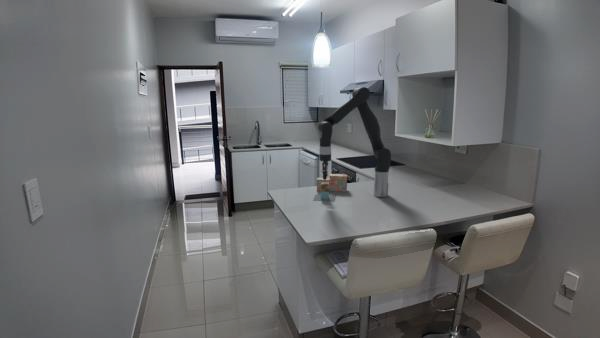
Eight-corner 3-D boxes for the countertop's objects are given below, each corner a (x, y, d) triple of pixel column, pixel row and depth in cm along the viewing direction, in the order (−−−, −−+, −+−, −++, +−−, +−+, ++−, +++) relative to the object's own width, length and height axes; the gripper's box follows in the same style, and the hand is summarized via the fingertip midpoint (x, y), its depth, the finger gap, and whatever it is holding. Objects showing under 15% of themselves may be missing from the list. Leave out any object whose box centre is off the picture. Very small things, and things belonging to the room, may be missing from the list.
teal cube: (328, 197, 218) (329, 189, 217) (328, 199, 213) (328, 191, 212) (321, 196, 218) (321, 189, 217) (320, 199, 214) (320, 191, 213)
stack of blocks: (316, 192, 233) (316, 175, 231) (317, 189, 240) (317, 173, 237) (346, 193, 231) (347, 176, 228) (346, 190, 237) (347, 174, 234)
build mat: (336, 196, 222) (336, 195, 221) (334, 203, 208) (334, 201, 208) (315, 195, 224) (315, 194, 223) (313, 202, 210) (313, 200, 210)
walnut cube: (329, 189, 217) (329, 182, 215) (328, 191, 212) (328, 184, 211) (321, 189, 217) (321, 182, 216) (320, 191, 213) (320, 184, 211)
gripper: (330, 155, 202) (330, 180, 205) (331, 151, 215) (331, 175, 219) (318, 155, 203) (318, 180, 206) (320, 151, 217) (320, 175, 220)
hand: (325, 177), depth 213 cm, fingers open, 8 cm apart
